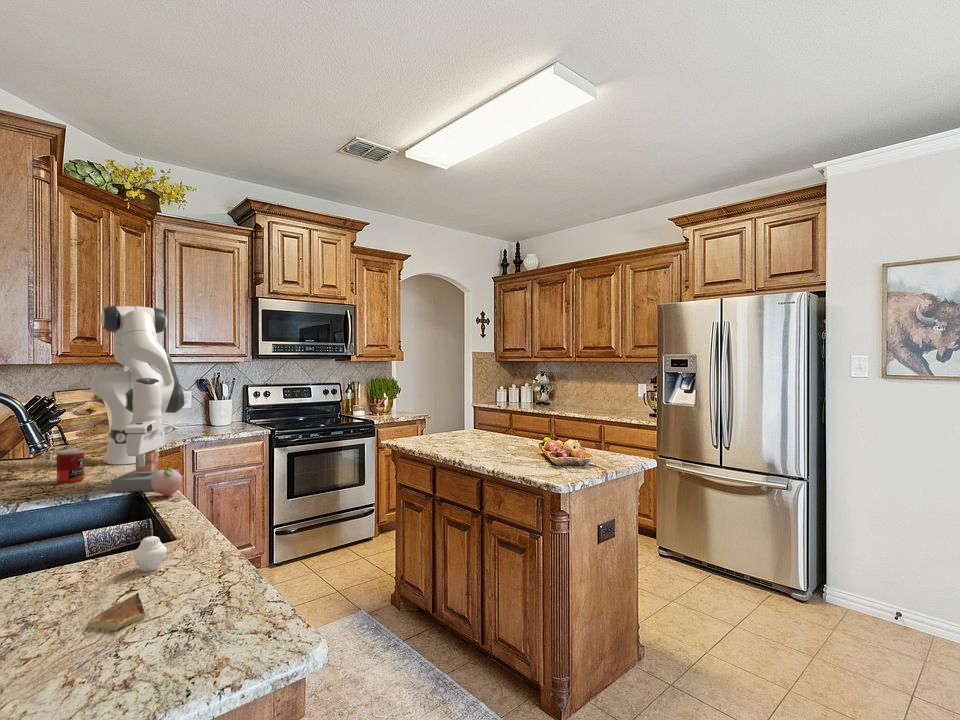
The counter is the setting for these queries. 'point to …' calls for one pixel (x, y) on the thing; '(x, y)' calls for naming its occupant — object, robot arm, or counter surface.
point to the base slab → (134, 481)
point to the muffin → (150, 554)
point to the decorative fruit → (166, 481)
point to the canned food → (70, 466)
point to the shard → (119, 614)
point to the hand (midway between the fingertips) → (147, 464)
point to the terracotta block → (148, 462)
